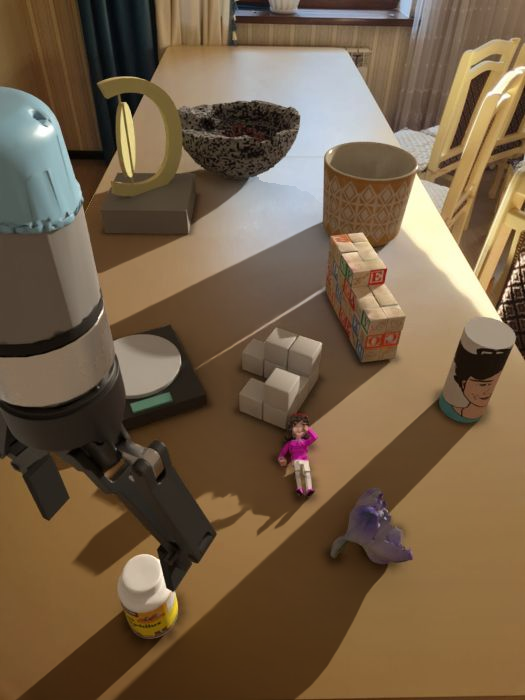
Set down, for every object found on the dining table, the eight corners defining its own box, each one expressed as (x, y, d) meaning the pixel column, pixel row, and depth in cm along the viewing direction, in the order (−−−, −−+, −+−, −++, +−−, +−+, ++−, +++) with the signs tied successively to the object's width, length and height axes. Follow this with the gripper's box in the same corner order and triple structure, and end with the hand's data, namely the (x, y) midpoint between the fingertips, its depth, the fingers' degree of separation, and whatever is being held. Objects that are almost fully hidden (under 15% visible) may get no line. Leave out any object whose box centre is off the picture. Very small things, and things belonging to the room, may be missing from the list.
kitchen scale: (102, 438, 78) (98, 423, 76) (79, 359, 90) (75, 345, 88) (206, 404, 83) (205, 390, 81) (172, 334, 95) (170, 320, 93)
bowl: (320, 172, 145) (325, 114, 135) (237, 212, 128) (235, 150, 118) (238, 139, 161) (237, 86, 151) (154, 171, 144) (147, 113, 134)
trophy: (121, 194, 134) (97, 61, 114) (196, 195, 134) (186, 63, 114) (105, 232, 121) (75, 90, 100) (188, 233, 121) (175, 91, 100)
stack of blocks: (396, 359, 91) (410, 300, 83) (360, 364, 90) (371, 305, 82) (354, 286, 107) (362, 231, 98) (324, 289, 106) (330, 234, 97)
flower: (339, 571, 57) (405, 504, 58) (303, 526, 65) (362, 467, 66) (380, 611, 61) (441, 549, 63) (342, 565, 69) (397, 509, 70)
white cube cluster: (253, 355, 92) (253, 318, 86) (318, 379, 88) (322, 342, 82) (216, 401, 84) (213, 364, 78) (286, 430, 80) (288, 393, 74)
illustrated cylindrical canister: (453, 426, 81) (482, 353, 70) (431, 394, 85) (455, 321, 75) (492, 417, 82) (526, 344, 72) (468, 386, 87) (497, 313, 77)
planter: (402, 213, 129) (416, 145, 118) (403, 257, 115) (420, 184, 103) (321, 206, 131) (328, 138, 120) (313, 247, 117) (319, 175, 106)
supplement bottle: (120, 634, 59) (102, 593, 52) (140, 584, 63) (126, 540, 56) (169, 646, 58) (157, 607, 51) (186, 595, 62) (177, 552, 55)
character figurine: (323, 499, 72) (312, 423, 80) (326, 481, 68) (314, 403, 76) (281, 502, 72) (273, 425, 80) (282, 484, 68) (273, 406, 76)
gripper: (263, 398, 31) (260, 568, 46) (-37, 279, 40) (40, 454, 54) (192, 499, 26) (213, 654, 41) (-133, 338, 35) (-20, 513, 49)
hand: (115, 540), depth 47 cm, fingers open, 13 cm apart
